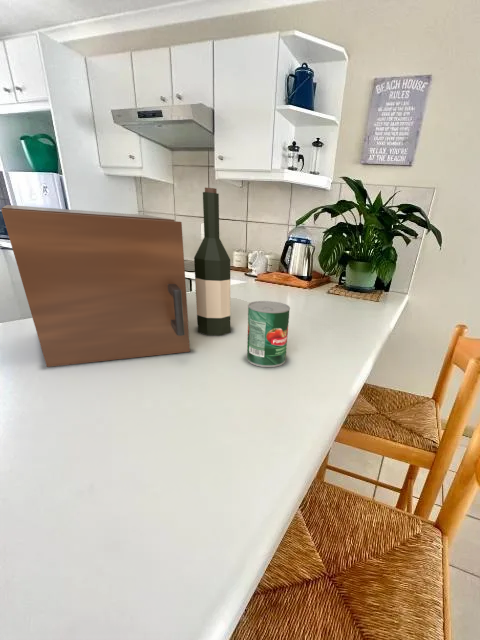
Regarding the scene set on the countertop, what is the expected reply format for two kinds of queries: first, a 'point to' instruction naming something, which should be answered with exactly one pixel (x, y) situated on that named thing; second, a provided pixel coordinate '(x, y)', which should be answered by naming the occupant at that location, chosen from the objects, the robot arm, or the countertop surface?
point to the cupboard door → (101, 284)
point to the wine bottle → (212, 273)
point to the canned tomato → (267, 333)
